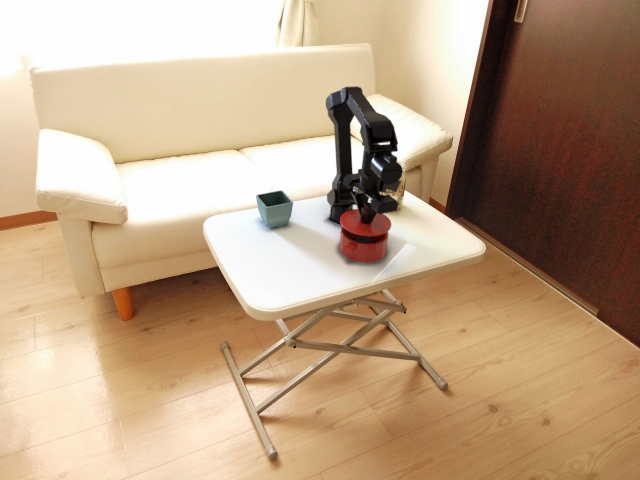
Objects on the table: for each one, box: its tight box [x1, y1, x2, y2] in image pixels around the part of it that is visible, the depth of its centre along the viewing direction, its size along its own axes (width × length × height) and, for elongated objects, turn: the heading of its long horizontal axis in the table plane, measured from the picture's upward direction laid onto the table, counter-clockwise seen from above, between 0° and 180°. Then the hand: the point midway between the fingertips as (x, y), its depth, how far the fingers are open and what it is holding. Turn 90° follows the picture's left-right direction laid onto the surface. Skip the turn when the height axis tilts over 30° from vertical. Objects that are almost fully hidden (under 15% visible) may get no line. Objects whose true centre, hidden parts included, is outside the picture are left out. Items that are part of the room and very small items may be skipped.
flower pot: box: [255, 189, 294, 229], centre depth 138 cm, size 9×9×9 cm
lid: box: [340, 205, 392, 236], centre depth 125 cm, size 14×14×6 cm
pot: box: [338, 225, 389, 264], centre depth 129 cm, size 13×19×6 cm
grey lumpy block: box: [353, 236, 375, 244], centre depth 130 cm, size 7×4×4 cm, turn 117°
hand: (366, 219), depth 125 cm, fingers closed on lid, 3 cm apart
